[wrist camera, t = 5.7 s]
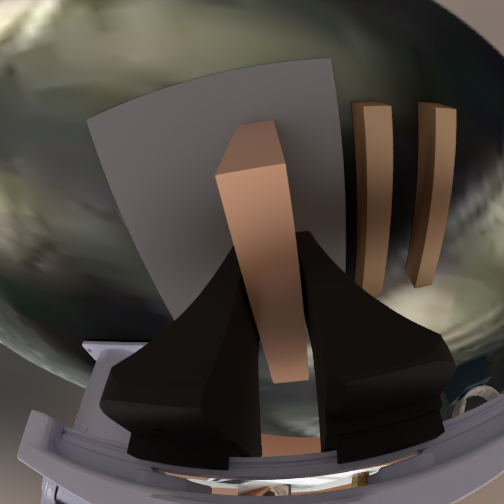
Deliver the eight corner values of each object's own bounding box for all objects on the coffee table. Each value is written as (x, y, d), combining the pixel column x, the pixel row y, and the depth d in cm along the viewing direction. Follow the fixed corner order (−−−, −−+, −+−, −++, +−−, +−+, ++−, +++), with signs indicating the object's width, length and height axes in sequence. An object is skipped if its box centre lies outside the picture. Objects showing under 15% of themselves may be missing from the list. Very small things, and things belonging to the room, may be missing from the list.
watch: (476, 374, 26) (497, 438, 17) (432, 390, 27) (450, 462, 18) (493, 351, 23) (521, 421, 14) (447, 369, 24) (472, 450, 15)
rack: (421, 267, 15) (431, 285, 14) (354, 279, 16) (361, 298, 14) (437, 103, 9) (456, 109, 8) (350, 101, 10) (363, 106, 9)
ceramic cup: (342, 476, 78) (344, 497, 70) (360, 471, 73) (363, 493, 65) (364, 474, 81) (366, 493, 73) (381, 468, 76) (384, 488, 68)
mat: (342, 303, 17) (343, 308, 17) (178, 321, 19) (177, 326, 18) (328, 58, 9) (330, 58, 9) (90, 118, 10) (86, 119, 10)
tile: (297, 284, 16) (308, 379, 11) (271, 288, 16) (273, 383, 11) (273, 119, 10) (285, 163, 6) (237, 125, 11) (214, 175, 6)
